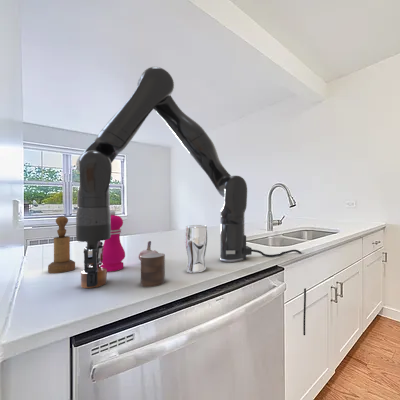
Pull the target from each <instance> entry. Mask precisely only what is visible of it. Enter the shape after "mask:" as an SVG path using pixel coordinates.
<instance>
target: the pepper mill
mask: <svg viewBox="0 0 400 400" xmlns="http://www.w3.org/2000/svg"><path fill="white" fill-rule="evenodd" d="M110 213H111V237H110V239H107V240H103V241H104V242H103V246H104V249H103V260H102V264H101V265H100V266H101V268H106V269H107V273H108V272H115V271H120V270H123V269H124V262H123V260H124V259H125V258H126V252H125V248H124V247H123V245H122V243H121V237H120V235H121V234H122V229H121V228H122V226H123V224H124V220H123V218H122V217H121V216H120V215H116V211H115V210H110Z"/></svg>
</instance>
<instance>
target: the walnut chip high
mask: <svg viewBox="0 0 400 400" xmlns="http://www.w3.org/2000/svg"><path fill="white" fill-rule="evenodd" d="M163 269H165V270H166V254H165V253H163V252H158V253H152V254H146V255H142V256H141V261H140V273H141V272H156V271H160V270H163Z"/></svg>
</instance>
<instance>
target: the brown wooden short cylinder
mask: <svg viewBox="0 0 400 400" xmlns="http://www.w3.org/2000/svg"><path fill="white" fill-rule="evenodd" d="M107 283H108V272H107V269H106V268H98V283H97V285H96V286H92V287H87V273H86V272H84V270H82V271H81V272H80V288H81V289H93V288H99V287H101V286H105V285H106V284H107Z"/></svg>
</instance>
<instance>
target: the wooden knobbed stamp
mask: <svg viewBox="0 0 400 400" xmlns="http://www.w3.org/2000/svg"><path fill="white" fill-rule="evenodd" d="M68 222H69V219H68V217H66V216H64V215H63V216H58V217H57V218H56V219H55V223H56V225H57V226H58V229H57V230H56V232H57V235H58V236H55V237H53V261H52V262H50V263H49V264H48V265H47V273H49V274H60V273H61V274H62V273H66V272H70V271H74V270H75V269H76V261H75V260H73V259H71V237H70V236H69V235H66V233H67V229H66V226H67V224H68Z"/></svg>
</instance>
